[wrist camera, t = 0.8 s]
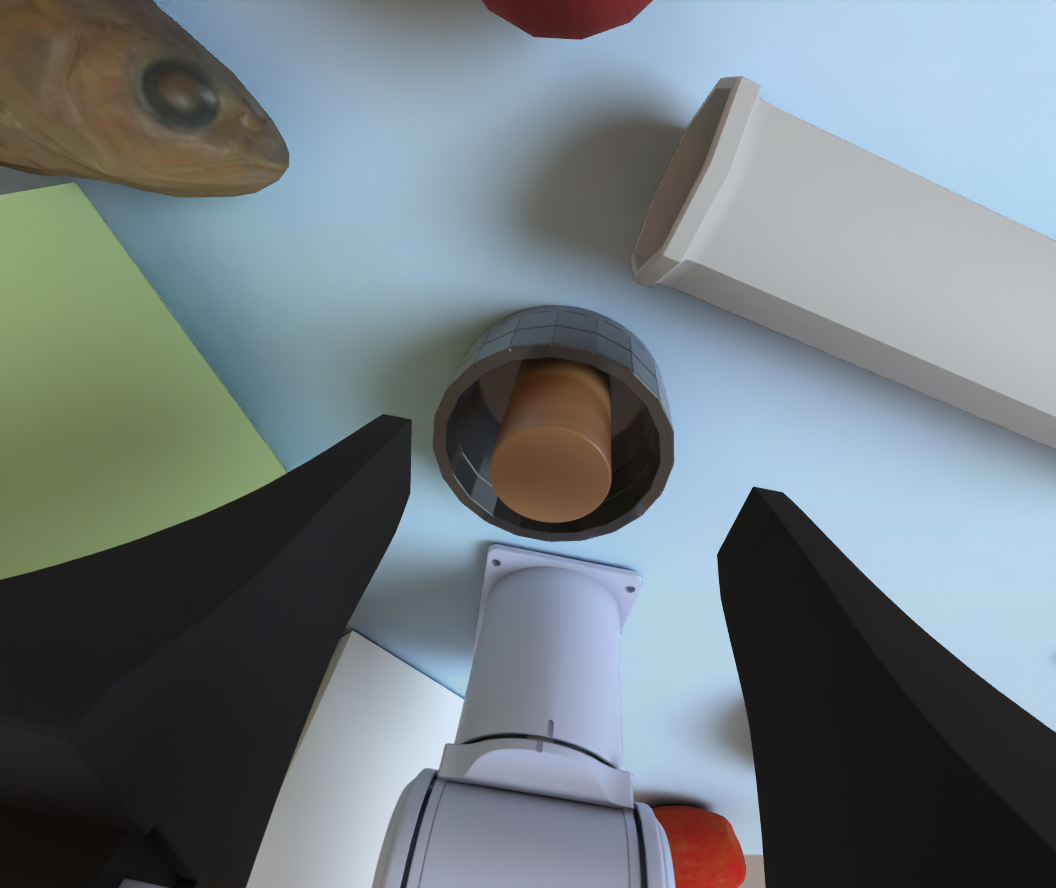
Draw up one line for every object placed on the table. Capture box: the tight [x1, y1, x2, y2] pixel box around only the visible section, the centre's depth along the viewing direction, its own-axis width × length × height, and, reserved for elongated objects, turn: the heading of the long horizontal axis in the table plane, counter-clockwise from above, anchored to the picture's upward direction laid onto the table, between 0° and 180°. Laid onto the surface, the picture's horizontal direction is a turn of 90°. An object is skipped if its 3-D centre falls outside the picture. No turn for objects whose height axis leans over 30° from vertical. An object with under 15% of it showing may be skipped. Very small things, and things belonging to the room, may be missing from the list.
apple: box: [651, 805, 746, 888], centre depth 39 cm, size 6×6×8 cm
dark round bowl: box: [433, 306, 674, 542], centre depth 20 cm, size 9×9×4 cm
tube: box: [631, 76, 1056, 449], centre depth 15 cm, size 5×5×25 cm
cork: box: [489, 357, 611, 523], centre depth 17 cm, size 4×4×6 cm
